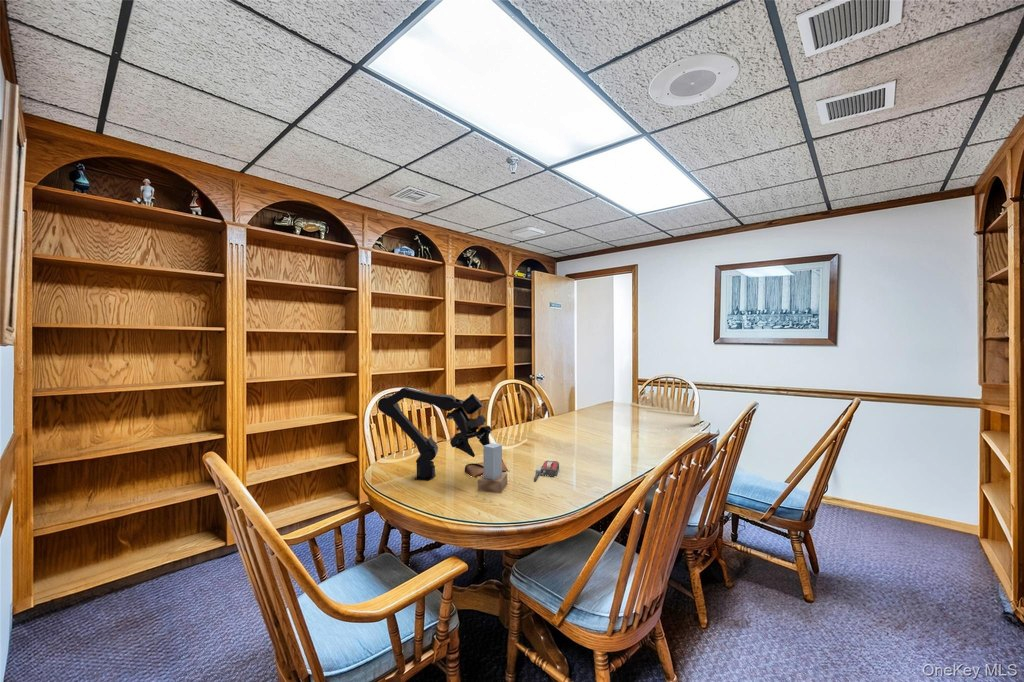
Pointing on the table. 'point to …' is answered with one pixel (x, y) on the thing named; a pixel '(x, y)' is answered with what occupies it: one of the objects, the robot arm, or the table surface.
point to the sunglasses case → (479, 469)
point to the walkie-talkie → (547, 469)
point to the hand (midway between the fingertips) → (482, 453)
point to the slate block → (492, 461)
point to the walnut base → (492, 483)
